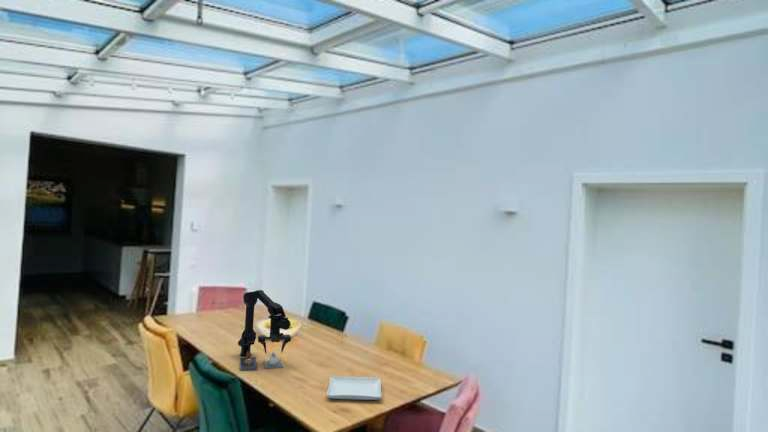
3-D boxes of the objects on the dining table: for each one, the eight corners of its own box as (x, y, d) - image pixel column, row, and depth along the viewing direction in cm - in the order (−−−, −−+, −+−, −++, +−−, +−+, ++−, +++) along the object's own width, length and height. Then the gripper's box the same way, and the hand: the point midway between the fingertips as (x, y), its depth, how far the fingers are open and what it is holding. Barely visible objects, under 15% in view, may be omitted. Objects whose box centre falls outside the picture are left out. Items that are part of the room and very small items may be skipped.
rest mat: (263, 361, 277) (263, 360, 277) (280, 361, 280) (280, 360, 280) (264, 368, 265) (265, 367, 265) (282, 367, 268) (282, 366, 268)
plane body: (240, 362, 274) (240, 351, 275) (255, 361, 277) (256, 350, 277) (240, 370, 259) (241, 359, 259) (257, 369, 262) (257, 358, 262)
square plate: (380, 384, 251) (380, 377, 251) (381, 404, 223) (382, 396, 224) (330, 382, 250) (330, 375, 250) (325, 402, 223) (326, 394, 223)
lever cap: (269, 362, 275) (269, 352, 275) (275, 362, 276) (276, 352, 276) (269, 365, 269) (270, 355, 269) (276, 365, 270) (277, 355, 270)
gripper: (259, 330, 262) (258, 357, 262) (292, 329, 268) (291, 356, 268) (258, 325, 273) (257, 352, 273) (290, 325, 279) (289, 350, 278)
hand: (273, 352), depth 273 cm, fingers open, 9 cm apart
